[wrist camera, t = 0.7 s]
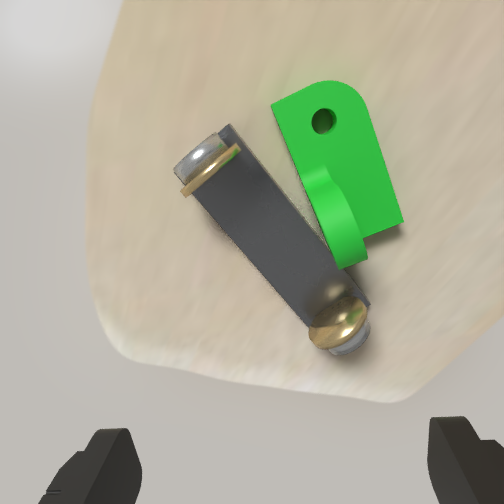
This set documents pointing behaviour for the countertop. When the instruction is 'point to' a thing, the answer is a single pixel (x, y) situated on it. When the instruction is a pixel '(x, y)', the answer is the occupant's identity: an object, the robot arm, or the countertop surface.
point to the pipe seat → (276, 239)
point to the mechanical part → (339, 167)
